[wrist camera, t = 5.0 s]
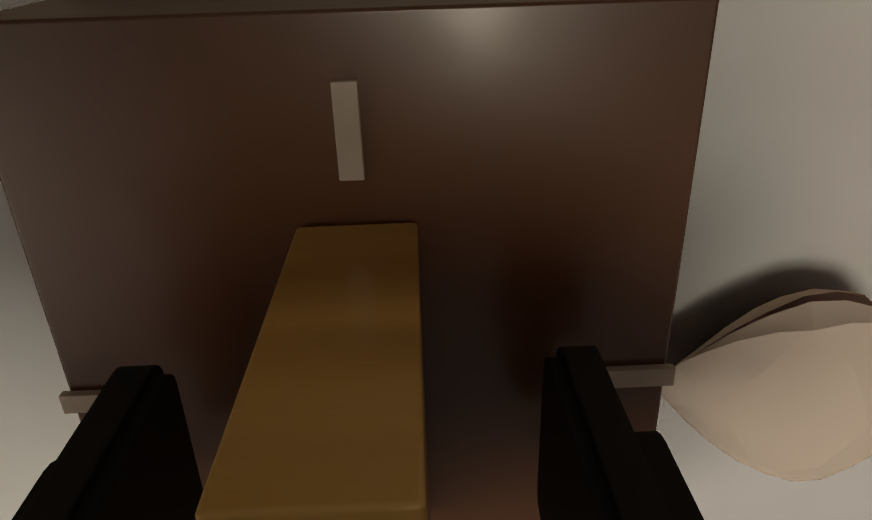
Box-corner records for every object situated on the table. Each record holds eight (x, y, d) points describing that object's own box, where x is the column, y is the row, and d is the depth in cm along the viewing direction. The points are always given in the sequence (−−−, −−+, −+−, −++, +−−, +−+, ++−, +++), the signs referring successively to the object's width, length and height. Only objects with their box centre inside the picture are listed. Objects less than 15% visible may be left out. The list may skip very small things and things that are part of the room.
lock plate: (48, -3, 11) (-70, 24, 9) (655, -23, 12) (734, -4, 9) (185, 518, 17) (141, 640, 14) (600, 498, 17) (637, 614, 14)
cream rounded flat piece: (829, 429, 16) (896, 511, 14) (621, 426, 16) (656, 509, 14) (892, 268, 14) (981, 333, 12) (657, 261, 14) (705, 326, 12)
